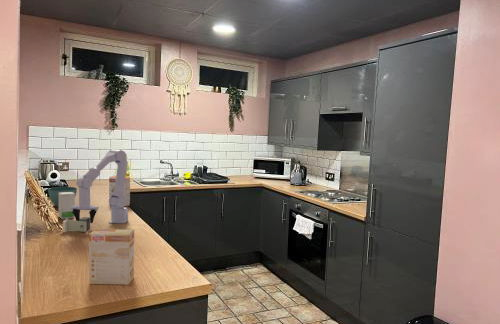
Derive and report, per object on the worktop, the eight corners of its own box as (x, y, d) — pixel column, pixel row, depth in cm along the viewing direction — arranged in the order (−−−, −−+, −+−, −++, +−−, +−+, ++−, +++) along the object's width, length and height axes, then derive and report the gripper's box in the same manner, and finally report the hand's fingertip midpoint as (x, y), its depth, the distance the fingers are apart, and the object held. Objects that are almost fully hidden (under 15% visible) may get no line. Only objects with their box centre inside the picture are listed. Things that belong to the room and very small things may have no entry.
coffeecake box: (134, 277, 146) (134, 229, 144) (129, 285, 139) (129, 234, 137) (95, 276, 145) (95, 228, 143) (88, 284, 138) (88, 233, 136)
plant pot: (49, 203, 266) (48, 187, 265) (77, 202, 274) (76, 186, 273) (47, 209, 250) (47, 191, 249) (77, 207, 258) (76, 190, 256)
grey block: (90, 227, 211) (89, 217, 211) (86, 230, 206) (86, 219, 206) (83, 227, 211) (83, 217, 211) (79, 229, 206) (79, 219, 206)
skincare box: (60, 219, 226) (60, 194, 225) (58, 217, 231) (57, 192, 230) (75, 217, 231) (75, 193, 230) (72, 215, 236) (72, 191, 235)
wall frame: (80, 223, 218) (80, 213, 217) (65, 232, 200) (65, 220, 200) (77, 223, 218) (77, 212, 217) (62, 232, 200) (62, 220, 200)
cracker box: (108, 205, 269) (108, 176, 267) (113, 203, 275) (114, 175, 273) (125, 207, 265) (125, 178, 263) (130, 205, 271) (130, 177, 269)
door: (84, 232, 200) (84, 222, 200) (67, 230, 202) (67, 220, 201) (86, 231, 202) (86, 221, 202) (69, 229, 204) (69, 220, 203)
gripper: (68, 199, 203) (68, 224, 204) (94, 200, 203) (94, 224, 204) (74, 197, 210) (74, 220, 211) (99, 198, 210) (99, 221, 211)
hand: (84, 222), depth 208 cm, fingers open, 7 cm apart
